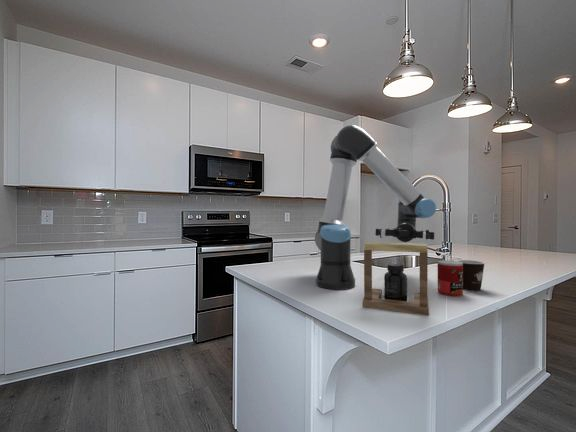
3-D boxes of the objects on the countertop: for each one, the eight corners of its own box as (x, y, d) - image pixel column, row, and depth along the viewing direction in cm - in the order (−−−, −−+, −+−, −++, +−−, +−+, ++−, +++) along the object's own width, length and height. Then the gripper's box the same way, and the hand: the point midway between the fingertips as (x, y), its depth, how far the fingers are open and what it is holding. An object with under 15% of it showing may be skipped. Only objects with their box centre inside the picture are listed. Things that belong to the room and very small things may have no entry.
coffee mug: (476, 286, 111) (476, 260, 111) (489, 292, 103) (489, 264, 103) (444, 285, 113) (444, 259, 112) (455, 291, 104) (455, 263, 104)
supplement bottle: (412, 304, 90) (412, 265, 89) (393, 306, 88) (393, 267, 87) (397, 298, 96) (397, 262, 96) (379, 300, 94) (379, 263, 94)
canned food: (454, 297, 97) (454, 264, 96) (432, 292, 104) (432, 261, 104) (468, 294, 100) (468, 262, 100) (446, 289, 107) (446, 259, 107)
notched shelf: (370, 294, 101) (370, 239, 101) (427, 300, 94) (427, 241, 94) (362, 306, 88) (362, 244, 88) (428, 315, 80) (428, 246, 80)
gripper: (438, 243, 115) (442, 249, 95) (373, 239, 125) (365, 242, 106) (439, 224, 115) (444, 226, 95) (374, 221, 125) (366, 222, 106)
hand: (402, 235), depth 100 cm, fingers open, 13 cm apart
